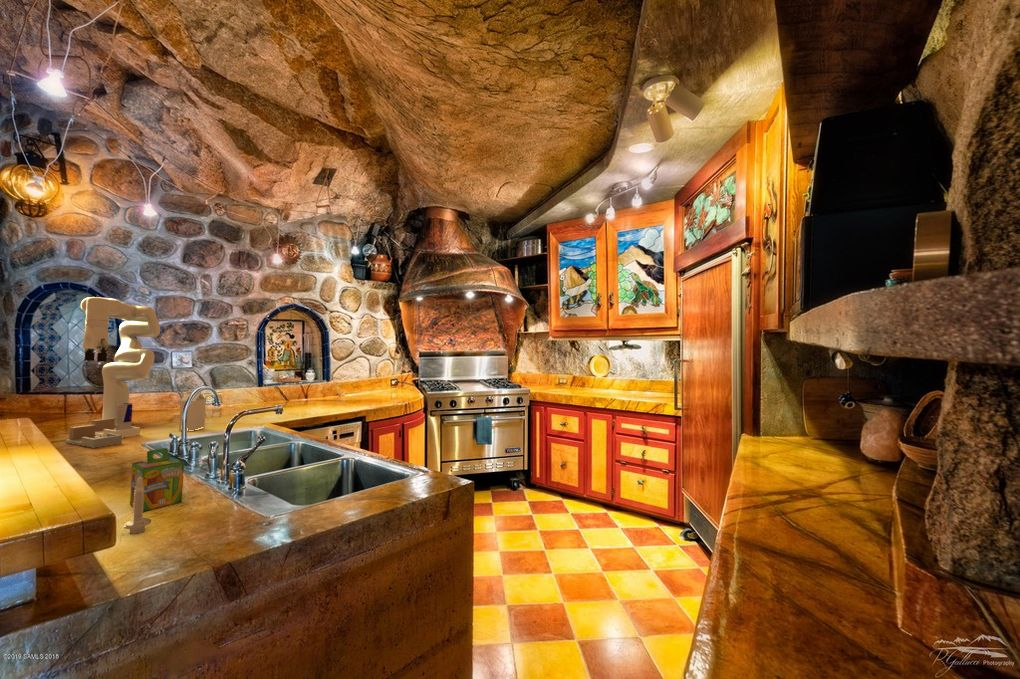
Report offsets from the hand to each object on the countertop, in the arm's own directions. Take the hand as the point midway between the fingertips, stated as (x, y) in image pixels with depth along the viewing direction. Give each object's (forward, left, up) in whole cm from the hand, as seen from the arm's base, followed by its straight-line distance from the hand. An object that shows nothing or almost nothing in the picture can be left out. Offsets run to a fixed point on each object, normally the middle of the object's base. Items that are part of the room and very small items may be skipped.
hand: (95, 361), depth 188 cm
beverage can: (+13, +11, -34) cm, 38 cm away
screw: (+137, +22, -34) cm, 143 cm away
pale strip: (+8, +8, -33) cm, 35 cm away
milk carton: (+12, +36, -34) cm, 51 cm away
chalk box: (+118, +25, -34) cm, 125 cm away
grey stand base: (+23, +3, -33) cm, 41 cm away
